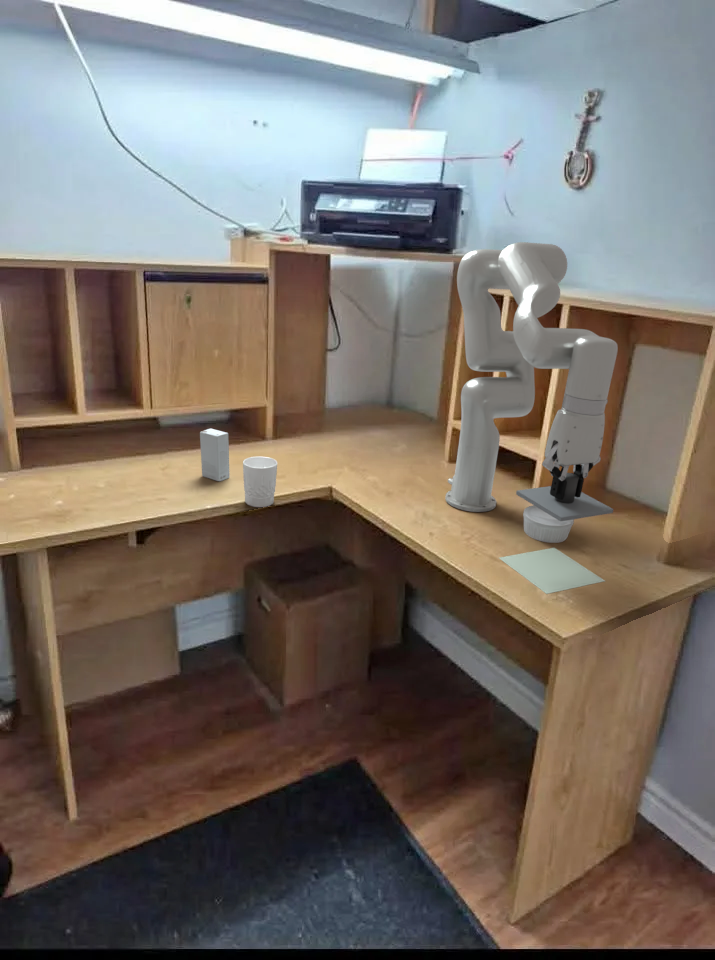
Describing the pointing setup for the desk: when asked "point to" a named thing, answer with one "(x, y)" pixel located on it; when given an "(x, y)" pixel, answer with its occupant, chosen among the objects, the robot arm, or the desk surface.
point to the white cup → (259, 480)
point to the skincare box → (214, 454)
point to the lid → (565, 501)
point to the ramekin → (545, 526)
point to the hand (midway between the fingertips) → (564, 495)
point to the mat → (551, 570)
